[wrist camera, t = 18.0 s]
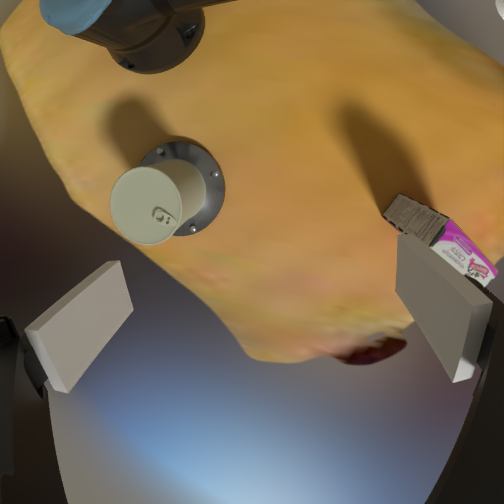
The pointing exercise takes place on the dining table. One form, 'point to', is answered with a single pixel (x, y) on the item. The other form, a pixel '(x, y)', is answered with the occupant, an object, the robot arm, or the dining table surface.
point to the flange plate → (210, 175)
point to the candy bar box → (440, 237)
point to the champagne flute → (500, 7)
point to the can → (156, 200)
